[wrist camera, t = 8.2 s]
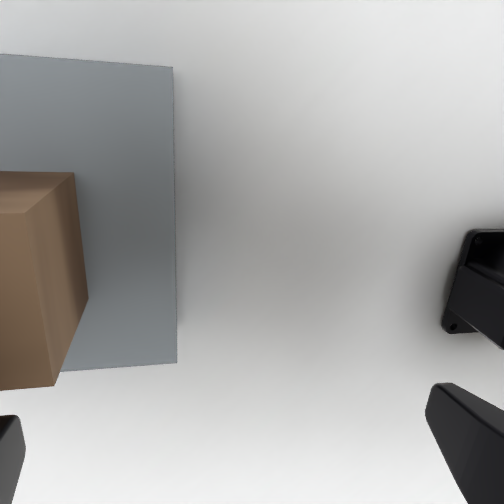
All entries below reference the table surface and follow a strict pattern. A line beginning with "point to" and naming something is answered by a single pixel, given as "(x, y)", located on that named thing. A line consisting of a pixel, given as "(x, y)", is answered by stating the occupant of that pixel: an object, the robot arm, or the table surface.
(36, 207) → the walnut cube
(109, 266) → the grey base
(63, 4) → the table surface
